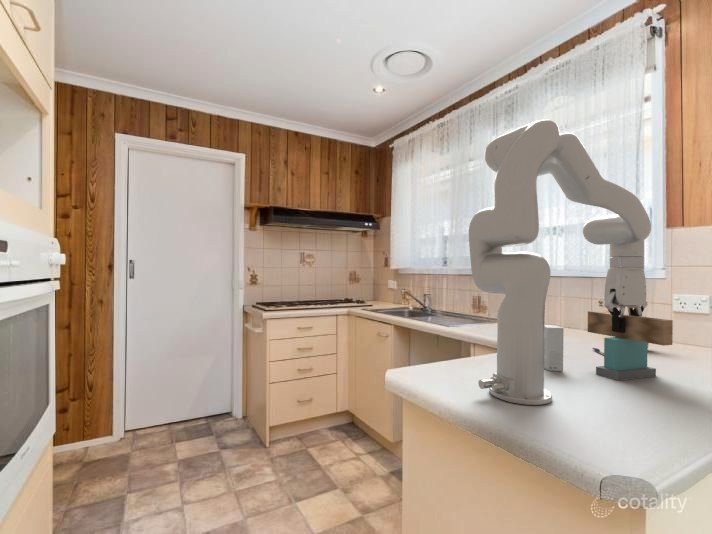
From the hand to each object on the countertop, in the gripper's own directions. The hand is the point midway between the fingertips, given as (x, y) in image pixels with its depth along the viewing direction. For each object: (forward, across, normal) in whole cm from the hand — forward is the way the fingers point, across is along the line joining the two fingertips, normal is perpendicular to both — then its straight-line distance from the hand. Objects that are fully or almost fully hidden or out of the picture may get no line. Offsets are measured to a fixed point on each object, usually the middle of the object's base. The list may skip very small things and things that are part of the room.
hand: (626, 331), depth 99 cm
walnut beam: (+2, 0, 0) cm, 2 cm away
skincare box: (+12, +14, -11) cm, 21 cm away
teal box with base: (+12, 0, 0) cm, 12 cm away
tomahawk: (+13, -17, -16) cm, 27 cm away
